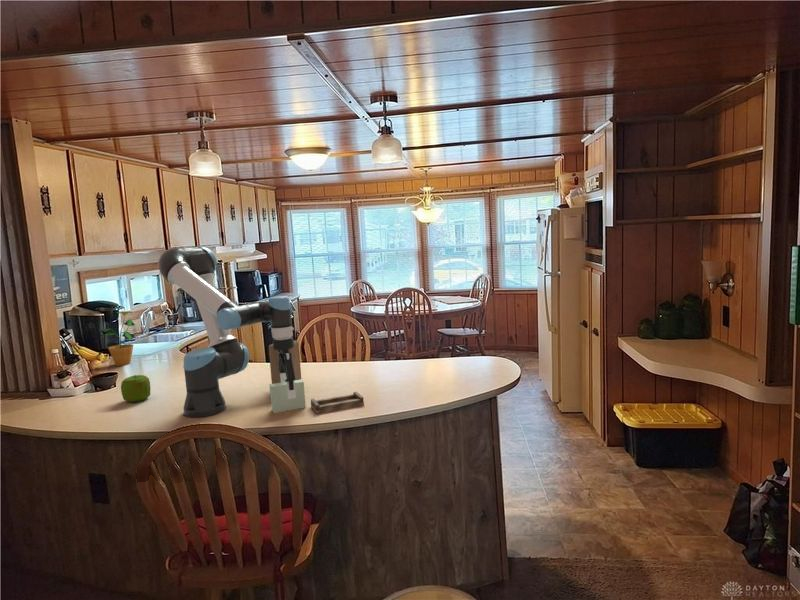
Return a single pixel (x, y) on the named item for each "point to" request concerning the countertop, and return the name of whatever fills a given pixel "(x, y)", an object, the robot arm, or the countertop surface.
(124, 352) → the potted plant
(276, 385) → the rectangular block
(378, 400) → the countertop surface
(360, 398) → the track
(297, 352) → the wooden block
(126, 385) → the apple
